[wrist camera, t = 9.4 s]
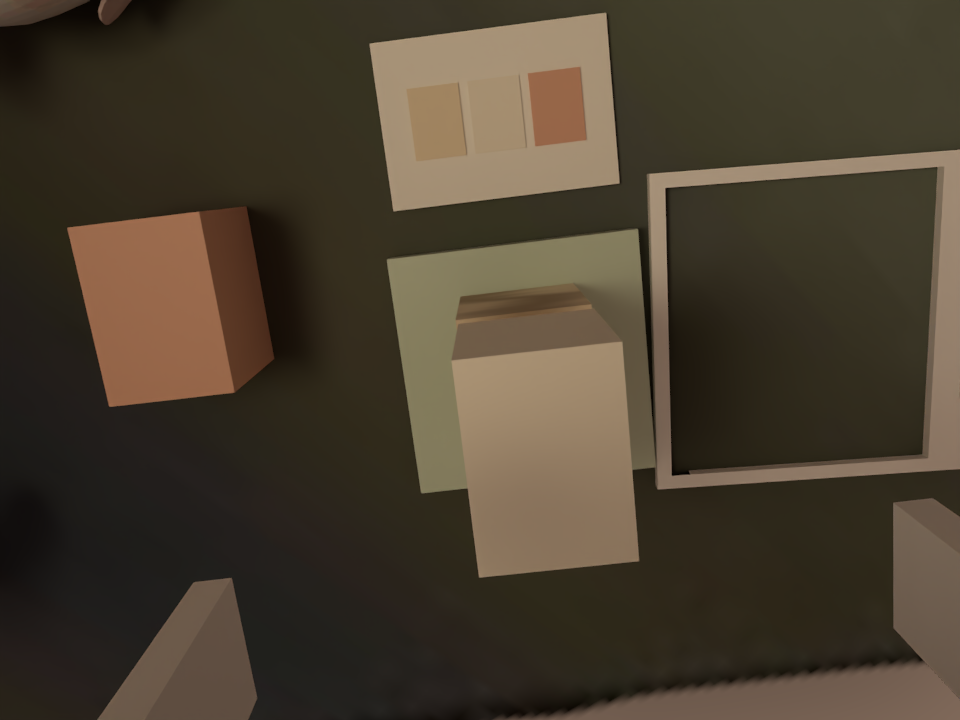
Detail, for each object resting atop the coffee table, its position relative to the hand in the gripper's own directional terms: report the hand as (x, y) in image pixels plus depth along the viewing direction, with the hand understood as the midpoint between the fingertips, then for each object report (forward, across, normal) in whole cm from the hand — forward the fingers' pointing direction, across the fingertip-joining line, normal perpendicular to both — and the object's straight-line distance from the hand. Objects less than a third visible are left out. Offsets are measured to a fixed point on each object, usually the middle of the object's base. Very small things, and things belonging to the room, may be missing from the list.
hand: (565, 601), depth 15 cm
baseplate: (+21, 0, 0) cm, 21 cm away
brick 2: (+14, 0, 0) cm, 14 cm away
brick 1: (+22, -14, +5) cm, 26 cm away
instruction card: (+21, 0, +11) cm, 24 cm away
